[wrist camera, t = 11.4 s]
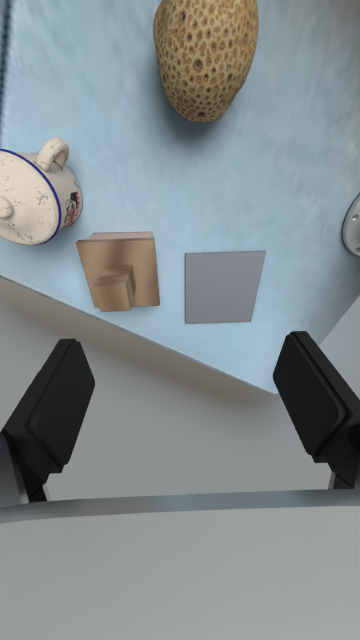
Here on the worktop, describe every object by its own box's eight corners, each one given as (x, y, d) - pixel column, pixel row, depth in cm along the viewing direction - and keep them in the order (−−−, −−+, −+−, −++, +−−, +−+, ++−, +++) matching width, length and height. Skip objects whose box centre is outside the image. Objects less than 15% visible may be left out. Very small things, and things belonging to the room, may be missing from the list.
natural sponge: (236, 123, 27) (264, 108, 19) (163, 131, 27) (160, 119, 19) (242, -1, 21) (286, -97, 13) (151, 10, 22) (140, -79, 14)
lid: (154, 237, 30) (150, 257, 24) (159, 301, 35) (157, 329, 30) (78, 240, 29) (56, 260, 24) (97, 303, 35) (82, 332, 29)
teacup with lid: (65, 240, 34) (25, 271, 25) (3, 193, 30) (-73, 208, 21) (109, 173, 29) (80, 180, 20) (42, 107, 25) (-33, 77, 16)
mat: (264, 250, 36) (265, 252, 36) (250, 319, 44) (250, 321, 44) (185, 253, 36) (185, 254, 36) (185, 322, 44) (185, 323, 44)
